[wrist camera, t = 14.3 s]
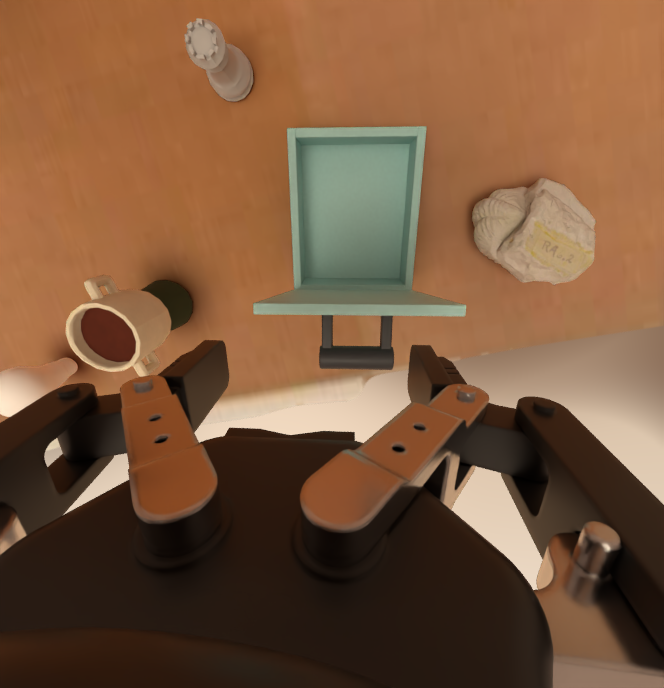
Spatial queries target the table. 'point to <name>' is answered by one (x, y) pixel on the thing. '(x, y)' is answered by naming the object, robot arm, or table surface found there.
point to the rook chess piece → (219, 60)
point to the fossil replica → (536, 232)
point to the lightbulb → (31, 383)
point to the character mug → (126, 324)
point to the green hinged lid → (358, 304)
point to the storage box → (355, 206)
